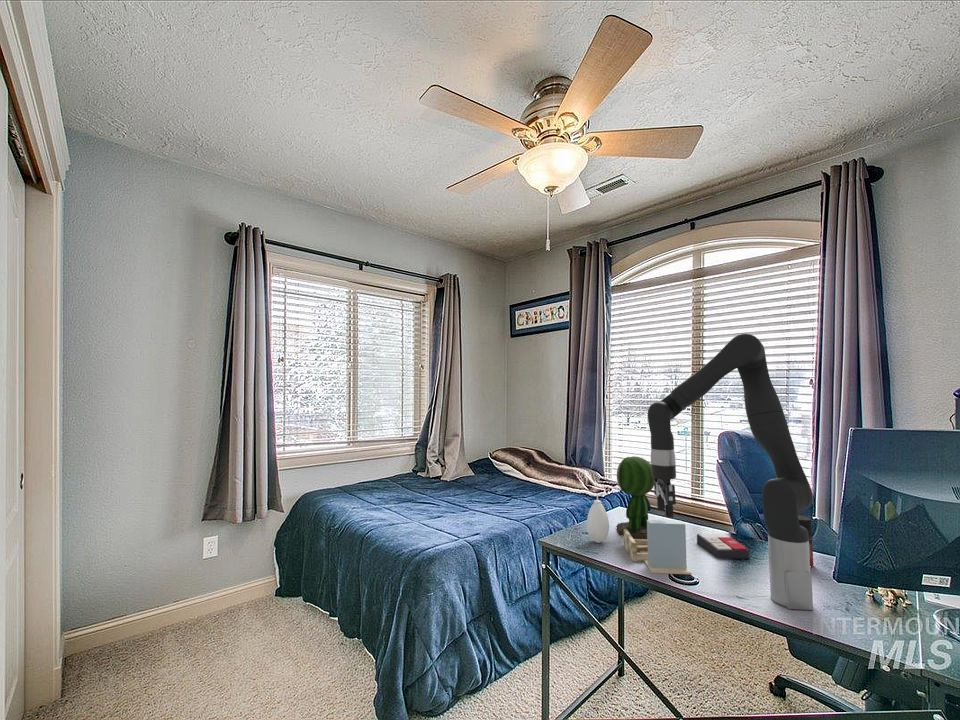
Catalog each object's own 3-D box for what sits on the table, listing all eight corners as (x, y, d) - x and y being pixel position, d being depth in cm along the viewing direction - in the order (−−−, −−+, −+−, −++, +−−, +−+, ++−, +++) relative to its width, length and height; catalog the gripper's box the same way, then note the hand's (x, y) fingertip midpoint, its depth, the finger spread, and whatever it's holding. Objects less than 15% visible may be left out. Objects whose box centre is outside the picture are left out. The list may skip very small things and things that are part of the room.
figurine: (625, 522, 191) (623, 452, 193) (672, 532, 178) (670, 457, 180) (606, 532, 179) (604, 456, 181) (655, 543, 165) (652, 462, 167)
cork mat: (691, 574, 139) (691, 572, 139) (651, 572, 140) (651, 570, 140) (681, 563, 147) (681, 561, 148) (644, 561, 149) (644, 559, 149)
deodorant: (798, 559, 150) (796, 514, 151) (817, 565, 145) (815, 519, 146) (787, 562, 148) (785, 516, 149) (806, 568, 142) (803, 521, 143)
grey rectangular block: (686, 569, 141) (685, 524, 142) (650, 567, 142) (649, 523, 143) (682, 564, 145) (681, 520, 146) (647, 563, 146) (646, 519, 147)
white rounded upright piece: (598, 547, 162) (597, 497, 163) (583, 540, 169) (582, 492, 170) (613, 543, 166) (612, 494, 167) (598, 537, 173) (597, 490, 174)
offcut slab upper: (664, 547, 155) (661, 544, 157) (638, 547, 154) (636, 545, 156) (664, 555, 154) (661, 553, 156) (638, 556, 154) (636, 554, 156)
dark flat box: (717, 548, 151) (696, 531, 166) (717, 561, 151) (696, 543, 166) (749, 548, 151) (725, 531, 166) (749, 561, 151) (725, 543, 166)
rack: (684, 563, 147) (683, 544, 148) (633, 561, 149) (632, 543, 149) (670, 547, 162) (669, 530, 162) (623, 545, 164) (623, 529, 164)
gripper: (682, 466, 138) (685, 519, 137) (667, 459, 152) (670, 508, 151) (657, 466, 139) (659, 519, 138) (645, 459, 153) (647, 507, 152)
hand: (665, 513), depth 144 cm, fingers open, 8 cm apart
